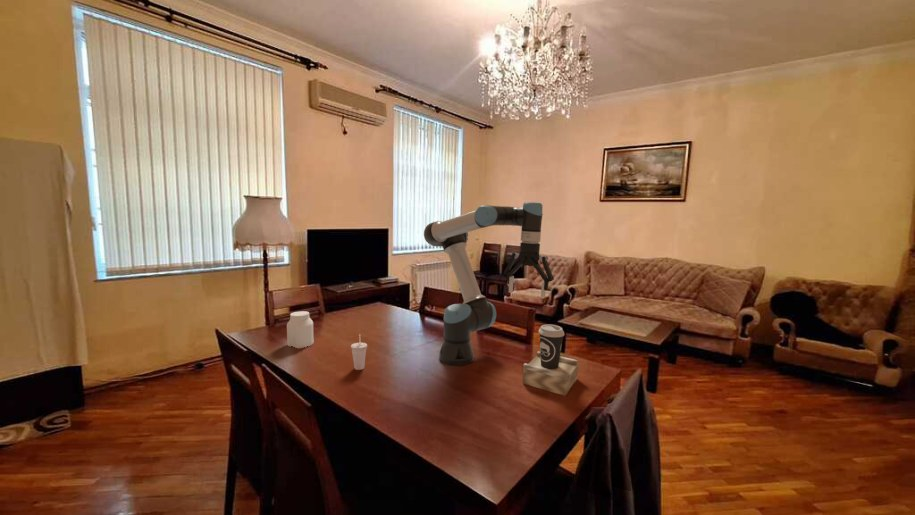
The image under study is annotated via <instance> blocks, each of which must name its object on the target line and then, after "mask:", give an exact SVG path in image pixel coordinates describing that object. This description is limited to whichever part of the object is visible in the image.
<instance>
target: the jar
mask: <svg viewBox="0 0 915 515" xmlns="http://www.w3.org/2000/svg"><path fill="white" fill-rule="evenodd" d="M310 317H311V316H310V312H309V311H306V310H304V311H302V310H301V311H294V312H291V313H290V314H289V318H290V319H289V320H288V322H287V324H286V336H287V337H286V338H287V339H286V340H287V343H286V344H287V345H288V347H291V346H293V347H292V348H294V347H295V349H296V348H297V349H303V348H302V347H305V348H308V347H311V346H312V345H314V342H315V340H314V321H313V320H312V318H310ZM310 345H311V346H310ZM307 346H308V347H307Z"/></svg>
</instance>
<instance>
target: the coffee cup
mask: <svg viewBox="0 0 915 515" xmlns="http://www.w3.org/2000/svg"><path fill="white" fill-rule="evenodd" d="M538 334H539V349H540V350H539V351H540V355H541V366H542V367H544V368H546V369H557V368H558V366H559V359H560V356H561V352H562V346H563V339H564V336H565V331H564V330H563V327H562V326H559V325H555V324H542V325H541V326H540V327H539V328H538Z"/></svg>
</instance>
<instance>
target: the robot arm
mask: <svg viewBox="0 0 915 515" xmlns="http://www.w3.org/2000/svg"><path fill="white" fill-rule="evenodd" d="M543 215H544V214H543V204H542V203H541V202H534V201H531V202H529V201H528V202H526V201H525V202H523V204H522V206H521V207H519V206H506V205H505V206H502V205H501V206H500V205H491V204H490V205H488V204H486V205H480V206H478V207H477V209H476V210H473V211H470V212H468V213H464V214H462V215H458V216H456V217H451V218H449V219H447V220H446V219H445V220H443V221H442V220H436V221H433V222H430V223H428V224H427V225H426V226H425V228H424V231H423V238H424V240H425V242H426V243H427V244H429V246H432V247H437V248H438V247H441V248H442V249H443V252H444V253H445V254H447V255H448V257H449V260H450V262H451V266H452V268H453V271H454V275H455V278H456V281H457V284H458V287H459V290H460V292H461V295H462V299H463V302H462V303H454V304H450V305H448V306H447V307H445V309H444V314H443V342H442V343H441V344H442V345H441V348H440V351H439V354H438V355H439V356H438V357H439V360H440V362H441V363H444V364H445V365H450V366H465V365H468V364H471V363H473V361H474V359H475V358H474V357H475V353H474V351H473V348H472V344H471V333H474V332H477V331H481V330H485V329H488V328H490V327H492V326H493V325H494V324H495V322H496V319H497V310H496V306H494V304H493V303H492V302H490V301H488V300H487V297H486V296H485V295H483V294H482V293H481V290H480V287H479V284H478V281H477V278H476V276H475V273H474V270H473V267H472V264H471V262H470V258H469V256H468V253H467V250H466V248H467V245H468V244H467V242H468V240H469V239H468V237H469V233H470V232H472V231H476V230H481V229H485V228H488V227H493V226H516V227H517V226H518V227H521V231H520V232H521V233H520V241H521V242H520V246H519V253H517V252H511V258H510V260H509V262H508V264H507V265H506V267H505V268H504V269H503V270H504V271H503V275H505V276H506V278H507V279H506V280H507V281H506V284H507V285H508V293H509V294H511V293H514V281H515V276H514V274H515V273H516V272H517V271H518V270H519V269H520V268H521V267H522V266H525V267H527V266H529V267H534V268H535V270H536V271H537V273H538V274H539V276H540V278H541V279H542V282H541V290H540V291H541V292H540V299H545V298H546V291H548V290H549V284H550V282H552V281H554V280H555V278H554V275H553V273H552V270H551V267H550V264H549V263H548V256H547V255H544V256H543V255H542V256H541V255H540V249H541V248H540V247H541V244H540V242H541V237H542V236H541V235H542V234H541V233H542V223H543V222H542V221H543ZM518 258H519V261H518V262H517V264H516V265H515V266H514V267H513V265H514V264H515V262H516V260H517V259H518ZM539 260H540V262H541V263H542V265H543V268H544V270H543V268H542V266H541V264H540V263H539ZM512 267H513V268H512Z"/></svg>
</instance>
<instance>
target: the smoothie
mask: <svg viewBox="0 0 915 515" xmlns="http://www.w3.org/2000/svg"><path fill="white" fill-rule="evenodd" d="M358 336H359V337H358V339H359V342H354V343H352V344H351V345H350V349H351V353H352V359H353V366H354V370H356V371H361V370H364V369H365V363H366V354H367V348H368V344H367V343H366V342H362V341H361V339H362V338H361V337H362V336H361V333H360V334H358Z"/></svg>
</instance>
